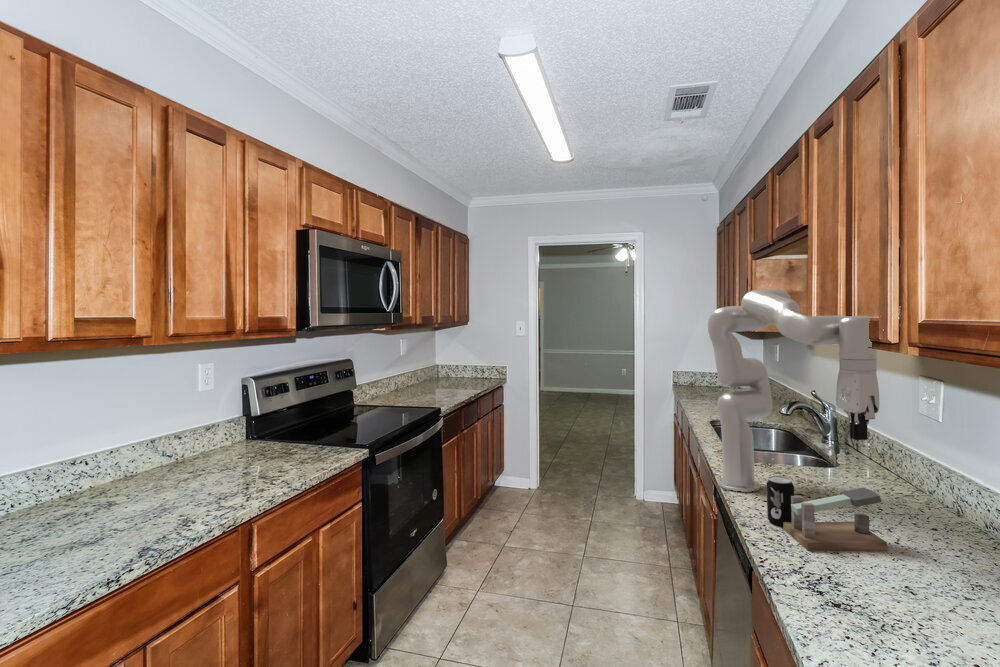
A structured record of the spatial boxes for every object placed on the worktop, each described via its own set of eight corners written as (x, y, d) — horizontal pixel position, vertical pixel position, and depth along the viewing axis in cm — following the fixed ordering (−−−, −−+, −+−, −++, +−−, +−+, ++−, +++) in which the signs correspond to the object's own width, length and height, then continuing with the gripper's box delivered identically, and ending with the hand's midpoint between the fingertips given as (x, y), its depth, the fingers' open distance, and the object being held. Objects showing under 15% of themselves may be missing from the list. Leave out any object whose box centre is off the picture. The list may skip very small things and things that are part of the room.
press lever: (789, 508, 127) (787, 502, 127) (865, 493, 125) (863, 487, 125) (801, 517, 121) (799, 511, 121) (881, 502, 119) (879, 495, 119)
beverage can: (799, 528, 131) (797, 483, 130) (772, 527, 132) (770, 482, 132) (789, 518, 137) (788, 475, 137) (764, 517, 138) (763, 475, 138)
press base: (783, 529, 130) (782, 492, 130) (855, 529, 128) (854, 491, 128) (807, 550, 118) (806, 509, 118) (887, 550, 116) (886, 509, 116)
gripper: (824, 363, 129) (825, 432, 130) (861, 369, 115) (862, 447, 115) (854, 362, 129) (855, 431, 129) (895, 368, 114) (896, 447, 115)
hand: (858, 439), depth 122 cm, fingers closed
